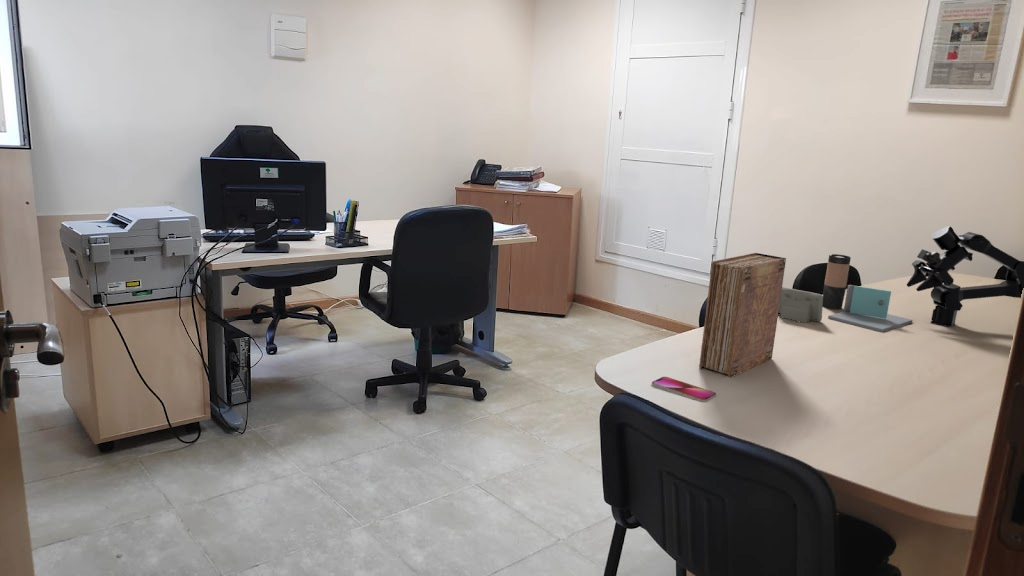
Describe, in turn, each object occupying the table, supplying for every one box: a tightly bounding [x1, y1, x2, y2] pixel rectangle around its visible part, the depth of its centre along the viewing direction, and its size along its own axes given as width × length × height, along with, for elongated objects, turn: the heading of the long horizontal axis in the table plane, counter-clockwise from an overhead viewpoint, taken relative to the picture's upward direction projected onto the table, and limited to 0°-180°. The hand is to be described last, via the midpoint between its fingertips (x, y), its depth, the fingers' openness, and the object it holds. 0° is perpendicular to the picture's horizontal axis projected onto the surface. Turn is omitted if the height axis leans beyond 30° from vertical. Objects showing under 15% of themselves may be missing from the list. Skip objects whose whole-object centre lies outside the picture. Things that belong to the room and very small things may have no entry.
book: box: [698, 252, 787, 378], centre depth 194 cm, size 25×9×30 cm, turn 135°
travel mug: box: [822, 253, 852, 310], centre depth 267 cm, size 8×8×20 cm
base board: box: [827, 310, 913, 333], centre depth 252 cm, size 19×24×3 cm
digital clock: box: [778, 286, 823, 324], centre depth 249 cm, size 16×9×11 cm, turn 39°
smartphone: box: [651, 376, 717, 403], centre depth 176 cm, size 7×1×15 cm
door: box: [843, 284, 892, 319], centre depth 253 cm, size 14×3×10 cm, turn 58°
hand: (912, 288), depth 250 cm, fingers open, 6 cm apart
